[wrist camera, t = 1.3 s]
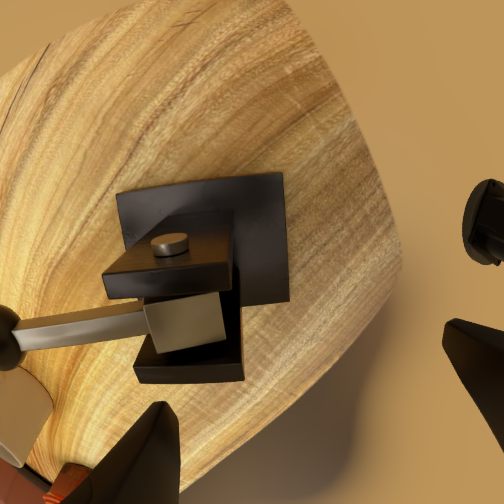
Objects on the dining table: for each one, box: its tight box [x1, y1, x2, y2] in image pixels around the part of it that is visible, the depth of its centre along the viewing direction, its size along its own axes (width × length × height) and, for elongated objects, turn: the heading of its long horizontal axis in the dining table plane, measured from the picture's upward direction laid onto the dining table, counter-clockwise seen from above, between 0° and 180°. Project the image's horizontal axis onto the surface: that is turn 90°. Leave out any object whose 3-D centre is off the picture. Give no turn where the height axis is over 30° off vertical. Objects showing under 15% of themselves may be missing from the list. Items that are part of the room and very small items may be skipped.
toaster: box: [0, 457, 51, 504], centre depth 28 cm, size 31×36×18 cm
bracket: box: [102, 172, 290, 384], centre depth 14 cm, size 11×9×11 cm
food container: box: [43, 463, 92, 504], centre depth 27 cm, size 16×16×11 cm
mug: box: [0, 366, 53, 468], centre depth 19 cm, size 12×8×11 cm
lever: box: [0, 292, 226, 371], centre depth 10 cm, size 12×3×3 cm, turn 95°
